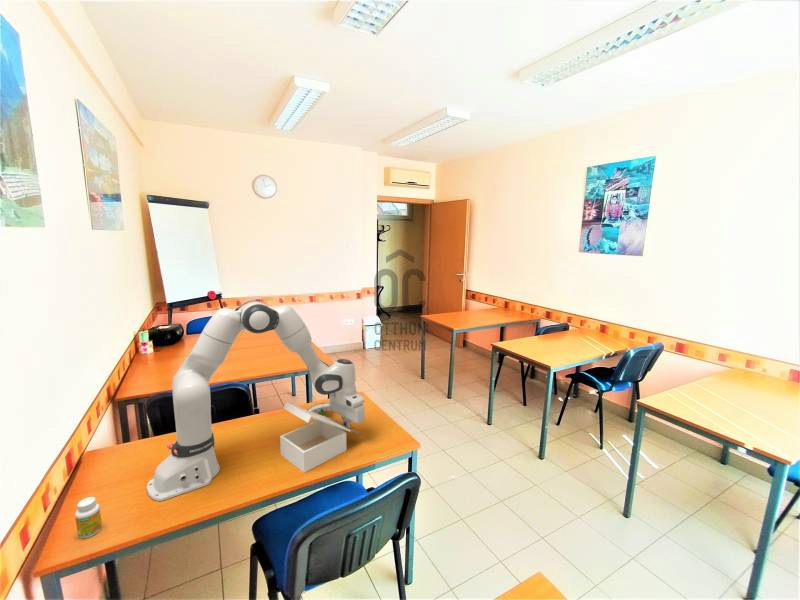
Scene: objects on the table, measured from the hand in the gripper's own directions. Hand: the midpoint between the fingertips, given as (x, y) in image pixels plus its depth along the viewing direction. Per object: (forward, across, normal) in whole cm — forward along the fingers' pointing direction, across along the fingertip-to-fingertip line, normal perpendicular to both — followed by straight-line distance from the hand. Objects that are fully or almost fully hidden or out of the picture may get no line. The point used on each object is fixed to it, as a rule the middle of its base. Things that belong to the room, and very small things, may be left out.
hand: (346, 425), depth 156 cm
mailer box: (+5, 0, -17) cm, 18 cm away
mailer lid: (-5, 0, -13) cm, 14 cm away
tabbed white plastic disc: (+5, -25, +4) cm, 26 cm away
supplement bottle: (+4, -14, -85) cm, 86 cm away
